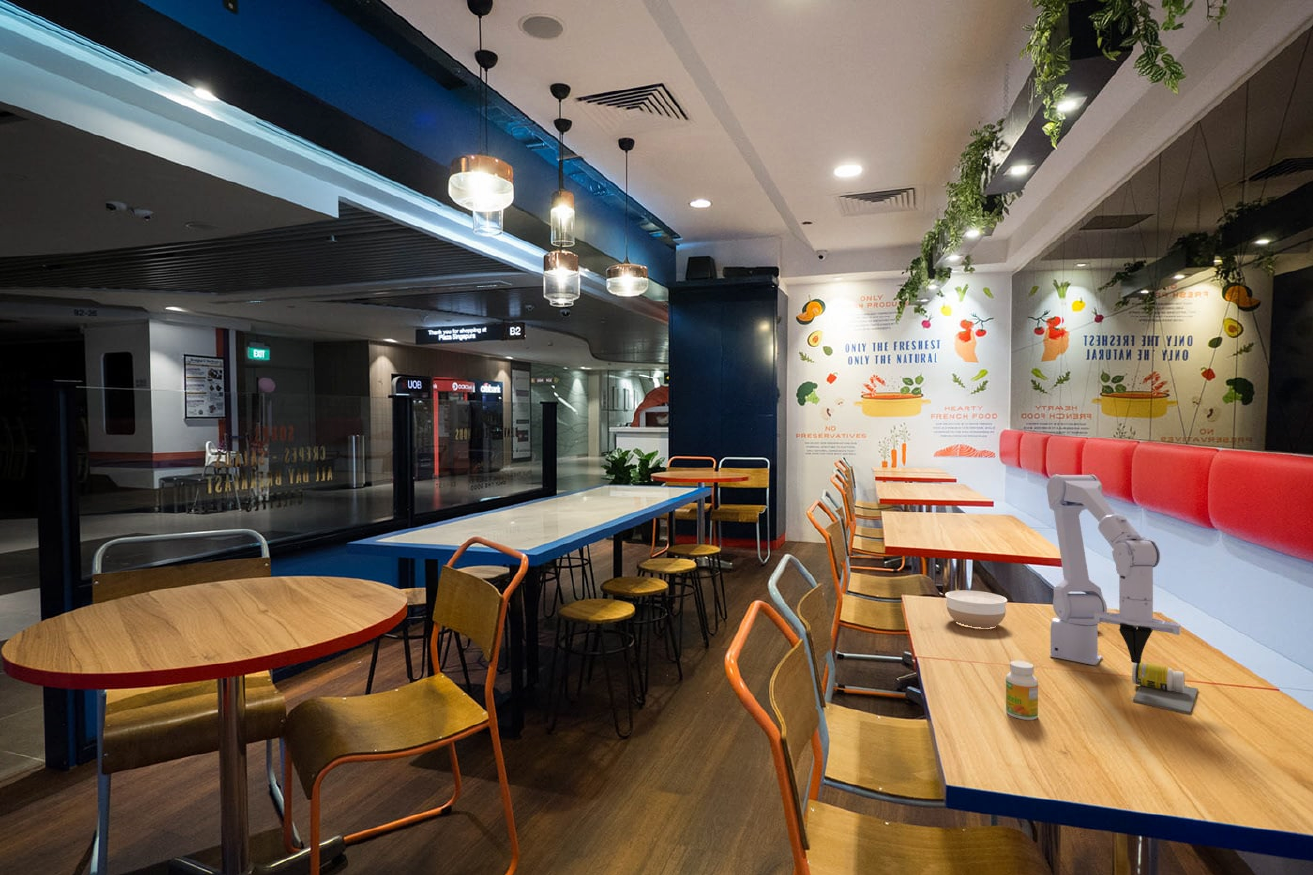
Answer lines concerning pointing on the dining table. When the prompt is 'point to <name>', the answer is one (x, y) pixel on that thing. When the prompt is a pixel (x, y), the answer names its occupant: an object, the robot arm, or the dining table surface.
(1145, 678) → the supplement bottle
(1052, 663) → the dining table surface
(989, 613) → the bowl
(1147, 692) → the mat
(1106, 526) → the robot arm
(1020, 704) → the supplement bottle
